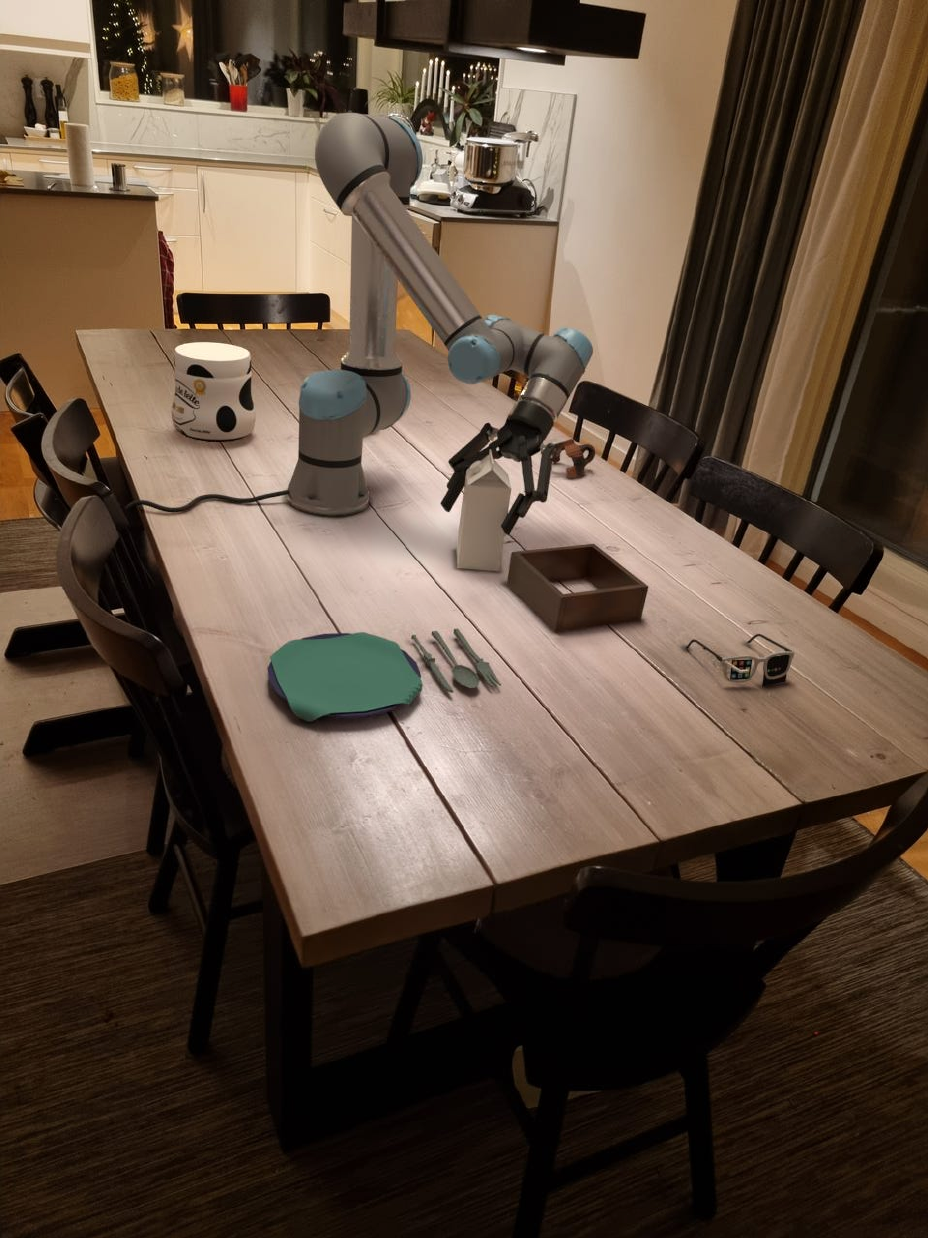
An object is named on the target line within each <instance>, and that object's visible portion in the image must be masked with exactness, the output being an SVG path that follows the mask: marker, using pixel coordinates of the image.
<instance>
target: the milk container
mask: <svg viewBox="0 0 928 1238" xmlns="http://www.w3.org/2000/svg"><path fill="white" fill-rule="evenodd" d="M173 365H174V366H173V367H174V370H173V371H174V388H175V389H174V396H173V400H172V404H171V419H172V420H171V421H172V423H173V427H174V429H175V430H176V432H178V433H179V434H180V435H182V436H184V437H185V438H187V439H191V440H194V441H198V442H205V443H219V444H220V443H221V444H222V443H233V442H236V441H241V440H244V439H245V438H247V437H249V436H251V434H252V433H253V431H254V429H255V425H256V417H257V416H256V413H257V412H256V408H255V404H254V400H253V396H252V377H253V376H252V355H251V353H250V351H249V350H248V349H246V348H244V347H241V346H238V345H234V344H230V343H229V344H228V343H222V342H212V341H211V342H210V341H207V342H206V341H203V342H202V341H200V342H199V341H198V342H196V341H195V342H189V343H187V342H186V343H182V344H179V345H177V346H176V347H175V348H174V351H173Z"/></svg>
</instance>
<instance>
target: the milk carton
mask: <svg viewBox="0 0 928 1238" xmlns="http://www.w3.org/2000/svg"><path fill="white" fill-rule="evenodd" d="M511 495H512V485H511V481H510V477H509V473H508V472H507V471H506V470H505V469H504V468H503V467H502V465H500V464H499V463H498V462H497V461H496V459H493V457H492V452H491V449H490V451H489V455H488V456H487V457H485V458H484V459H482V460H481V461H476V462H474V463H473V464H472V465H471V466H470V468H469V469H467V471H466V477H465V485H464V488H463V494H462V503H461V510H460V519H459V527H458V534H457V544H456V564H457V565H456V566H457V568H458V569H469V570H479V571H491V572H500V569H501V562H502V557H503V556H502V554H503V548H504V541H505V535H506V534H505V532H504V531H503V529H502V528H501V525H502V523H503V521H504V519H505V518H506V516H507V514H508V512H509V510H510V509H509V508H510V501H511Z"/></svg>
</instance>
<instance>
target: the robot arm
mask: <svg viewBox="0 0 928 1238" xmlns="http://www.w3.org/2000/svg"><path fill="white" fill-rule="evenodd" d="M314 160H315V161H314V162H315V166H316V170H317V172H318V175H319V178H320V180H321V182H322V184H323V187H325V190H326V192H327V193H328V195H329V196H330V197H331V199H332V201H333V202H334V203H335V205H336V206H337V207H338V209H339V210H340V212H341V213H342V215H343V216H346V217H351V233H350V234H351V238H350V239H351V240H350V241H351V242H350V286H349V288H350V289H349V291H350V292H349V341H348V342H349V343H348V351H347V352H345V354H344V355H343V356H342V357H340V369H329V370H320V371H319V370H318V371H316V372H313V373H311V374H309V375H307V377H305V378H304V379H303V381H302V382H301V385H300V392H299V397H298V408H299V409H298V416H299V417H298V452H297V462H296V464H295V467H294V469H293V472H292V475H291V478H290V480H289V483H288V486H287V488H286V490H285V489H284V490H279V491H274V492H269V493H265V494H261V495H257V496H253V497H246V498H245V497H233V496H229V495H224V494H218V493H208V494H207V493H206V494H202V495H199V496H197V497H195V498H193V499H192V500H191V501H189V502H188V503H187V504H185V505H182V506H177V507H168V506H165V505H161V504H159V503H156V502H153V501H150V500H146V499H137V500H133V501H131V502H129V503H127V505H126V506H125V507H124V509H125V510H131V509H133V508H134V507H138V506H147V507H150V508H153V509H155V510H158V511H161V512H166V513H170V514H171V513H175V514H176V513H181V512H186V511H188V510H190V509H191V508H193V507H194V506H195V505H197V504H198V503H200V502H202V501H206V500H221V501H225V502H231V503H237V504H250V503H256V502H260V501H263V500H267V499H273V498H277V497H283V496H286V498H287V501H288V503H289V504H290V505H291V506H292V507H294V508H296V509H297V510H298V511H302V512H305V513H308V514H312V515H317V516H318V515H319V516H324V517H325V516H327V517H340V516H341V517H342V516H349V515H354V514H358V513H360V512H362V511H364V510H366V509H367V507H368V506H369V504H370V503H369V502H370V492H371V490H370V487H369V486H368V483H367V479H366V475H365V472H364V469H363V465H362V463H363V462H362V460H363V459H362V458H363V445H364V439H365V438H367V437H370V436H371V435H374V434H375V433H378V432H379V431H384V430H387V429H389V428H391V427H393V425H395V424H396V423H397V422H399V421H400V420H401V419H402V418H403V417H404V416H405V415H406V413H407V411H408V410H409V407H410V405H411V399H412V392H411V386H410V383H409V380H408V379H407V378H406V376H405V375H406V374H405V373H403V361H402V360H401V359H400V358H399V356H398V355H397V354H396V335H397V308H398V286H399V283H400V285H401V286H402V288H403V289H404V290H405V292H406V293H407V295H408V296H409V297H410V299H411V300H412V302H413V303H414V304H415V305H416V307H417V308H418V310H419V311H420V312H421V314H422V315H423V317H424V318H425V320H426V321H427V322H428V324H429V325H430V327H431V328H432V330H433V331H434V332H435V333H436V335H437V336H438V338H439V339H440V340H441V342H442V344H443V345H444V346H445V348H446V349H447V351H448V354H447V364H448V368H449V372H450V373H451V374H452V376H453V377H454V378H455V379H456V380H458V381H459V382H461V383H462V384H465V385H476V384H480V383H486V382H487V381H490V380H492V379H494V378H495V377H496V376H498V375H501V374H503V373H505V372H508V371H511V370H512V371H514V372H517V373H518V374H522V375H524V376H526V377H529V379H528V381H527V382H526V384H525V386H524V388H523V389H522V391H521V392H520V393H519V396H518V398H517V401H516V402H515V403H514V405H513V406H512V408H511V410H510V411H509V413H508V415H507V416H506V420H505V421H504V422H505V423H504V424H503V425H502V426H501V427H499V428H497V427H495V426H492V424H491V422H485V423H484V424H483V426H482V427H481V430H480V431H479V432H478V433H477V434H476V435H475V436H474V437H473V438H471V440H469V441H468V442H467V443H466V444H465V445H464V446H462V448H460V449H459V451H457V452H456V453H455V454H454V455H453V456H452V457H450V459H448V462H447V463H448V465H449V466H450V468H451V469H452V471H453V473H452V475H451V477H450V478H449V480H448V481H447V483H446V489H447V491H446V492H445V494H444V496H443V497H442V499H441V501H440V506H441V507H442V508H443V510H444V511H445V512H447V513H450V512H451V510H452V509H453V507H454V505H455V503H456V502H457V500H458V498H459V497H460V495H461V494H462V491H463V490H464V485H465V477H466V471H467V469H469V468H470V466H471V465H472V464H473V463H474V462H476V461H481V460H482V459H484V458H485V457H487V456H488V455H489V451H490V449H491V452H492V457H493V459H494V460H499V459H501V458H503V459H506V460H507V459H508V460H513V461H514V462H516V463H521V470H522V471H521V472H522V479H523V487H524V490H523V493H521V492H518V494H517V497H516V498H515V500H514V502H513V504H512V505H511V508H510V509H509V510H508V514H507V516H506V518H505V519H504V521H503V523H502V525H501V528H502V529H503V531H504V532H505V535H508V536H510V535H511V533H512V531H513V529H514V528H515V526H516V524H517V522H518V521H519V519H520V518H522V519H524V518H525V517H526V515H527V514H528V512H529V510H530V509H531V507H532V505H533V504H534V503H535V502H540V503H543V504H545V503H546V502H547V501H548V496H549V490H550V489H549V488H550V480H551V473H552V466H553V460H554V458H555V457H556V455H557V451H556V449H555V447H554V444H555V443H553V442H548V443H544V442H545V441H546V439H548V437H549V435H550V433H551V431H552V429H553V427H554V425H555V423H554V422H556V421H557V420H558V418H559V417H560V415H561V413H562V411H563V409H564V407H565V406H566V404H567V403H568V400H569V398H570V397H571V395H572V393H573V392H574V390H575V388H576V387H577V385H578V383H579V382H580V379H581V378H582V376H583V375H585V372H586V369H587V367H588V364H589V362H590V361H591V358H592V357H593V353H594V346H593V344H592V342H591V340H590V339H589V338H588V337H587V336H586V335H585V334H584V333H583V332H581V331H580V330H577V329H575V328H572V327H569V328H567V327H561V328H559V329H557V331H555V333H554V334H553V335H552V336H551V335H548V334H544V333H542V332H540V331H537V330H535V329H532V328H529V327H528V326H525V325H523V324H520V323H518V322H516V321H513V320H512V319H511V318H509V317H502V316H500V315H496V314H490V315H487V316H486V317H485V318H483V317H482V315H481V314H480V312H479V311H478V310H477V308H476V307H475V305H474V304H473V303H472V301H471V300H470V298H469V297H468V295H467V294H466V293H465V291H464V290H463V288H462V286H460V284H459V282H458V281H457V279H456V278H455V277H454V275H453V274H452V273H451V271H450V269H449V268H448V267H447V266H446V264H445V263H444V261H443V260H442V259H441V257H440V255H439V253H437V251H436V249H435V248H434V247H433V245H432V244H431V242H430V241H429V240H428V238H427V237H426V236H425V234H424V233H423V231H422V230H421V228H420V227H419V226H418V223H416V222H415V221H416V220H414V218H413V217H412V215H411V214H410V213H409V212H408V209H409V208H410V206H411V188H412V187H414V184H415V183H416V182H417V181H418V180H419V178H420V176H421V174H422V170H423V166H424V165H423V164H424V156H423V149H422V146H421V142H420V140H419V139H418V136H417V135H416V133H415V132H414V131H413V130H412V128H411V127H410V126H409V125H407V123H405V122H404V121H402V120H399V119H397V118H394V117H392V116H388V115H387V116H386V115H385V114H382V115H381V114H380V115H378V114H376V115H375V114H364V113H363V114H362V113H357V112H343V113H340V114H337V115H335V116H333V117H332V118H330V119H329V120H328V121H326V123H324V124H323V126H322V127H321V129H320V131H319V133H318V135H317V137H316V141H315V146H314ZM398 282H399V283H398ZM495 438H496V439H495ZM487 445H488V446H487ZM497 449H498V450H497ZM538 453H540V454H541V455H540V456H541V458H540V464H539V471H538V477H537V485H536V487H535V480H534V479H535V478H534V472H533V460H532V457H533V456H535V455H537V454H538ZM535 488H536V489H535Z"/></svg>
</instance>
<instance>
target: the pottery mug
mask: <svg viewBox="0 0 928 1238" xmlns="http://www.w3.org/2000/svg"><path fill="white" fill-rule="evenodd" d="M553 444H554V447H555V449H556V451H557V455H556V457H555V458H554V460H553V462H552V464H555V465H556V464H557V463H559V462H560V461H561V453H562V452H563V451H565V455H566V456H567V457H568V458H570V459H571V461H572V463H573V465H572V466H570V467H568V468H567V467H566V469H565V472H566V476H567V479H573V478H576V477H579V476H583V475H584V474H585V468H586V466H587V465H588V464H590V463H591V462H592V461H593V460H594V459H595V456H596V449H595V447H594V445H592V444H590V443H584V444H581V445H579V444H577V443H576V442H575V439H574V438H569V439H567V440H563V441H559V442H556V443H553ZM586 451H587V452H588V453H587V455H586V457H585V455H584V453H585V452H586Z"/></svg>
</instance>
